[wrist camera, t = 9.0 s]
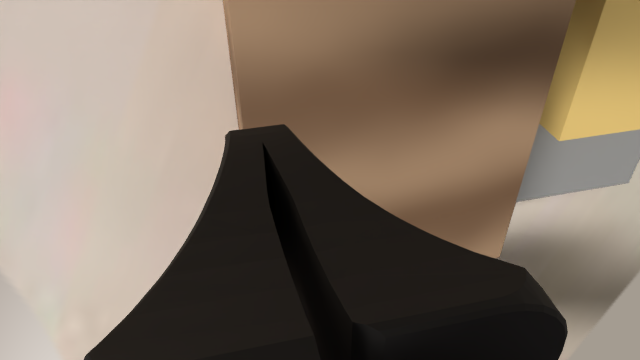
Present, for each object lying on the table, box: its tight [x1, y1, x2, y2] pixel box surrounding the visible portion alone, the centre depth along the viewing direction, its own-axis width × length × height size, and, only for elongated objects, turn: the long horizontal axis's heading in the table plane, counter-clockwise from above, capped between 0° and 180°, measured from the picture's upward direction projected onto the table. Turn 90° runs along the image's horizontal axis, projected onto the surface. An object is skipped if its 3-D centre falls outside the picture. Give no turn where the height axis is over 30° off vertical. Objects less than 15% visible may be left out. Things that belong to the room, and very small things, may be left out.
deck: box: [223, 0, 576, 258], centre depth 20 cm, size 20×12×4 cm, turn 0°
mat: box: [516, 124, 640, 202], centre depth 23 cm, size 20×10×1 cm, turn 0°
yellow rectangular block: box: [539, 0, 640, 141], centre depth 23 cm, size 9×6×2 cm, turn 0°
